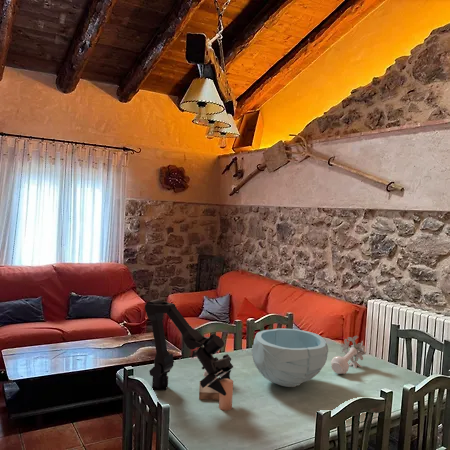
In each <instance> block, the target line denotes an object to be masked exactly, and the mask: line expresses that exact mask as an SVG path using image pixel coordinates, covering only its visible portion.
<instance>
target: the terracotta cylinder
mask: <svg viewBox="0 0 450 450" xmlns="http://www.w3.org/2000/svg"><path fill="white" fill-rule="evenodd" d="M220 383H221V385H222V386H223V388H224V390H225V392H226V395H225V396H224V395H222V394H221V393H219V400H218V409H219V410H222V411H231V410H232V409H233V399H234V398H233V395H234V380H233V379H231V378H230V379H221V380H220Z"/></svg>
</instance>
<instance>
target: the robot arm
mask: <svg viewBox="0 0 450 450" xmlns="http://www.w3.org/2000/svg"><path fill="white" fill-rule="evenodd" d="M144 309H145V310H144V311H145V313H146V314H145V315H146V316H147V318H148V319H149V320H150V323H151V329H152V334H153V340H154V348H155V356H154V360H153V362H154V363H153V364H154V366H153V367H152V368H151V369H150V370H149V376H151V377H152V381H151V382H152V385H151V389H152V388H153V390H152V391H166V390H167V388H168V386H169V376H168V374H169V373H170V372H171V370H172V369H173V367H174V363H175V361H174V355H173V353H170V352H169V350H168V349H167V348H168V347H167V342H166V336H165V329H164V323H163V316H164V314H166V315H167V316H168V318H169V319H170V320H171V321H172V323H173V325H175V327H176V328H177V329H178V332H179V333H180V334H181V336H182V341H183V342H184V344H185V346H186V348H187V349H189V350H192V354H191V358H192V359H193V358H197V359H198V361H199V362H200V364H201V365H202V367H201V369H202V370H204V371H205V370H206V371H207V373H208V374H209V375H207V376H206V377H205V376H204V378H202V379H201V380H200V381H199V386H200V385H201V386H202V388H204V387H205V386H207V384H209V385H208V386H207V387H210V388H212V389H214V390H216V391H217V392H219V393H221V394H222V395H224V396H225V395H226V392H225V390H224V388H223V386H222V385H221V383H220V380H221V379H231V372H232V370H233V368H234V365H233V363H231V360H232V358H231V357H230V355H229V354H224V355H222V358H220V359H219V358H218V357H217V356H216V357H214V356H213V355H216V354H217V353H218V352H219V351H220V350H222V348H224V346H225V342H224V340H223V338H222V337H220V336H219V335H216V333H212V334H211V335H210V336H208V337H209V338H206V337H207V336H203V335H202V333H200V332H199V331H198V330H196V329H195V328H194V327H192V326H191V325H190V324H189V323H188V322H187V320H186V319H185V317H184V316H183V315H182V313H181V312H180V311H179V310H178V308H177V305H176V304H175V303H173V302H168V301H162V300H161V299H159V298H158V299H152V300H150V301H147V302H146V303H145V305H144ZM203 345H204V347H203ZM212 354H213V355H212Z"/></svg>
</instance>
